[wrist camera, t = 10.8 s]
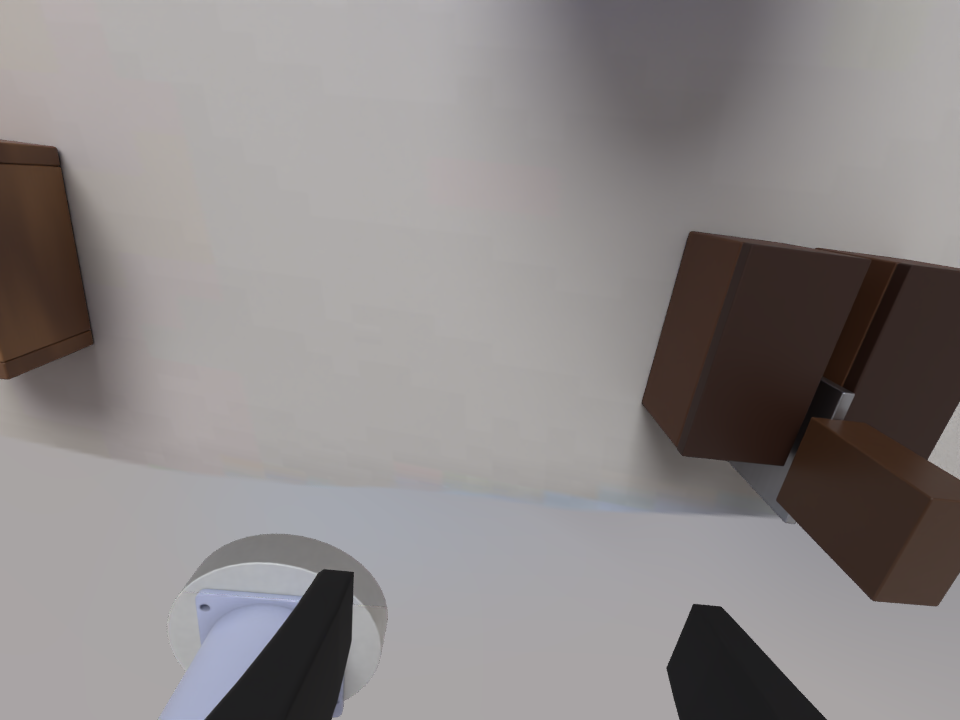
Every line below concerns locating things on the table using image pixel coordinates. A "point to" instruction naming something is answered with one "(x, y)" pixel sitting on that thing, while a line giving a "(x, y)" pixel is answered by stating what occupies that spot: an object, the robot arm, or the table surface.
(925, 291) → the split wooden block
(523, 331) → the table surface
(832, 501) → the brown and grey piece
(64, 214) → the knife block
